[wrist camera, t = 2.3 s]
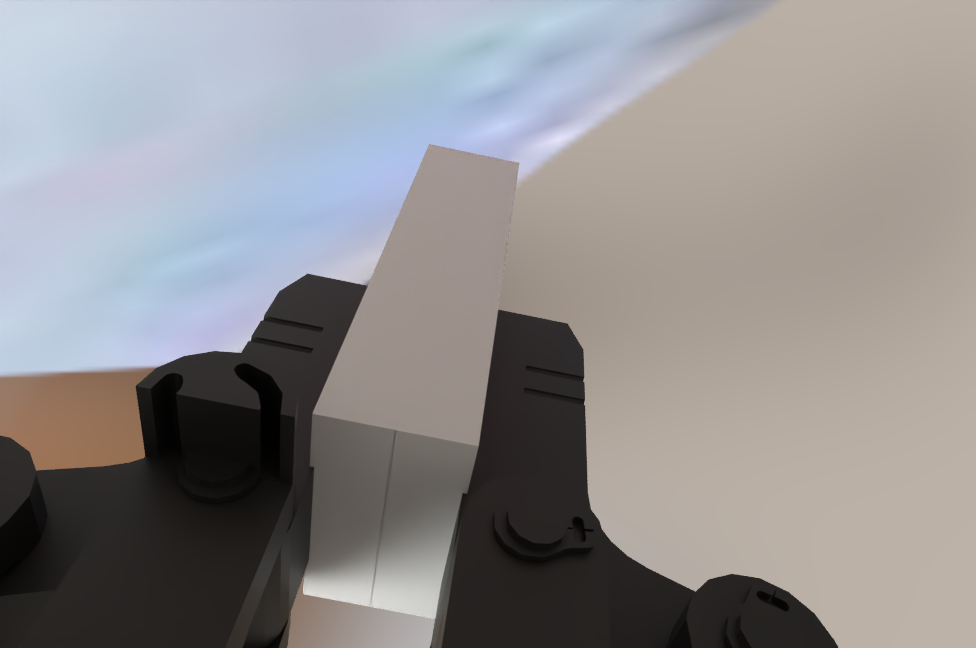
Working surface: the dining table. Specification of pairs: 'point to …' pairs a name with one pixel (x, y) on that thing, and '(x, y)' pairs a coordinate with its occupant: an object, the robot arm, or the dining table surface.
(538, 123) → the dining table surface
